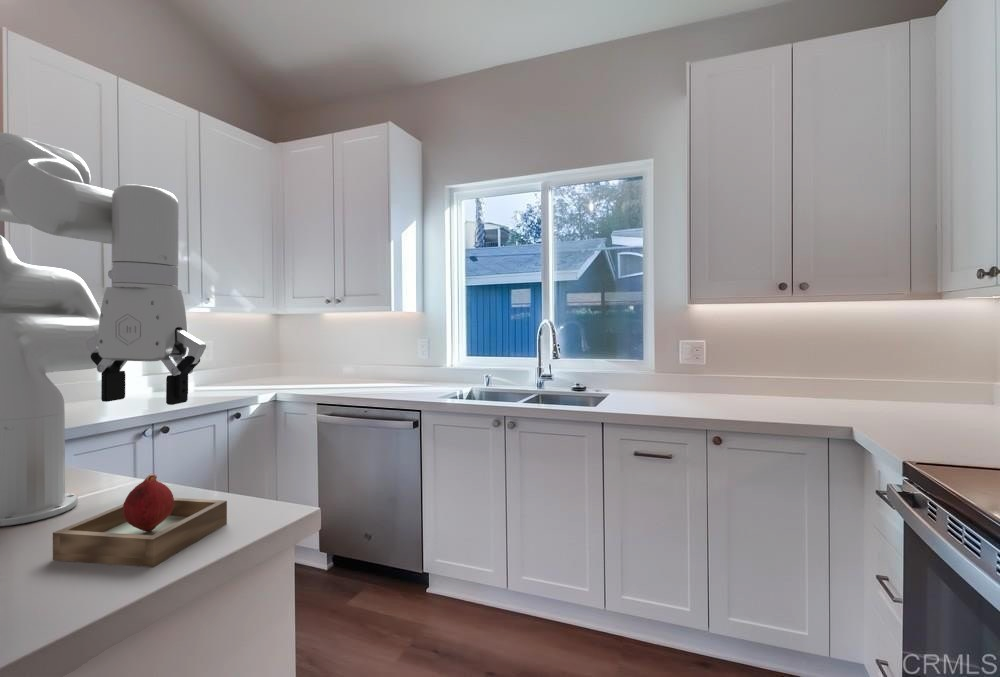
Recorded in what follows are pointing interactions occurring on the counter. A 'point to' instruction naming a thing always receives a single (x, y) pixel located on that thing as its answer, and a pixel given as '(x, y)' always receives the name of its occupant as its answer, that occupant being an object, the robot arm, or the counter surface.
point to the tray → (138, 535)
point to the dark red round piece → (148, 504)
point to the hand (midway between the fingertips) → (145, 401)
